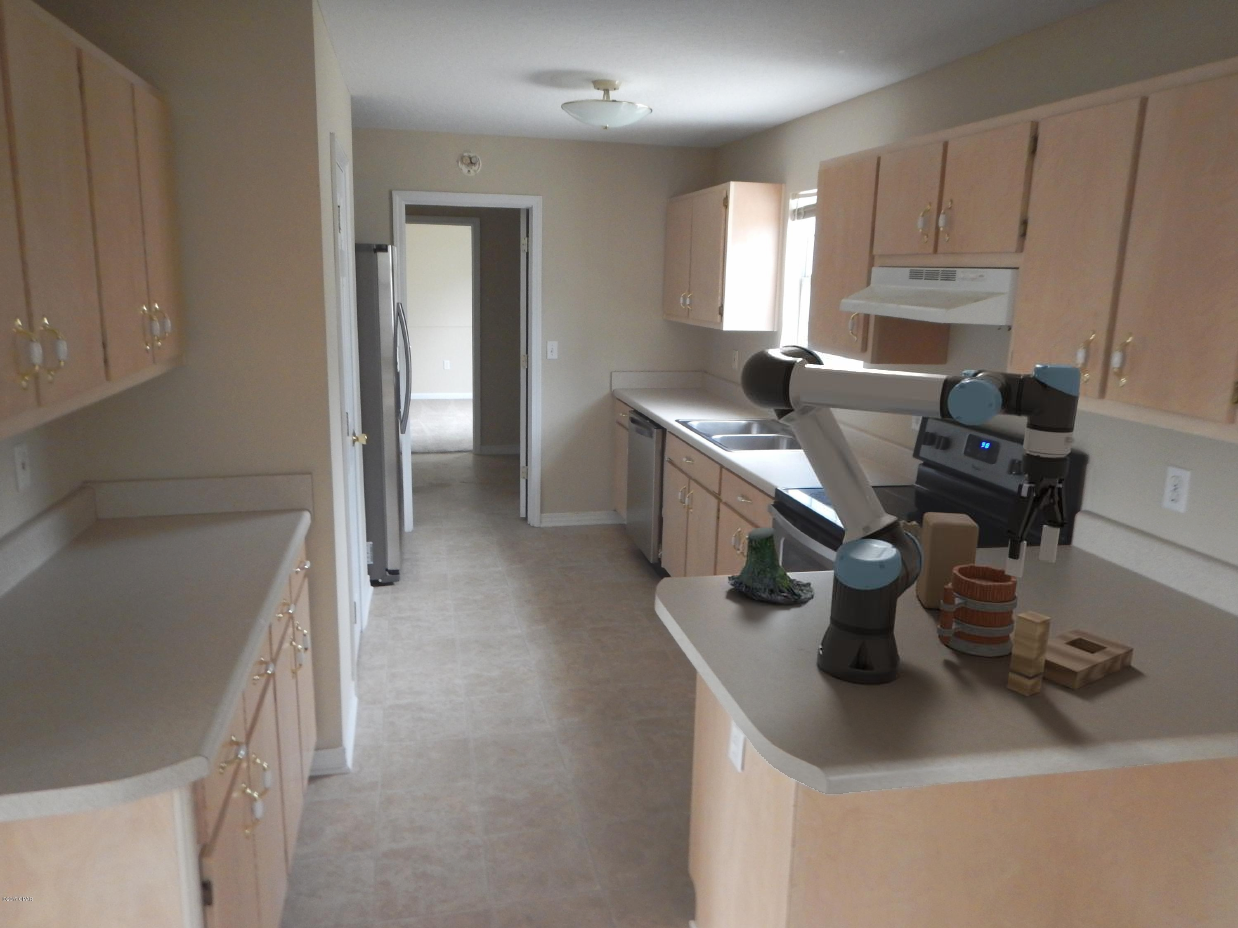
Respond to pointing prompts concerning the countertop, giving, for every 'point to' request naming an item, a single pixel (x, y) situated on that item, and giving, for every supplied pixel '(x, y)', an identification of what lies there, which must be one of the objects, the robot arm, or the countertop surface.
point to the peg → (1028, 653)
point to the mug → (978, 611)
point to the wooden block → (944, 553)
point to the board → (1083, 658)
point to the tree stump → (768, 573)
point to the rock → (912, 529)
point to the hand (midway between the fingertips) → (1030, 568)
